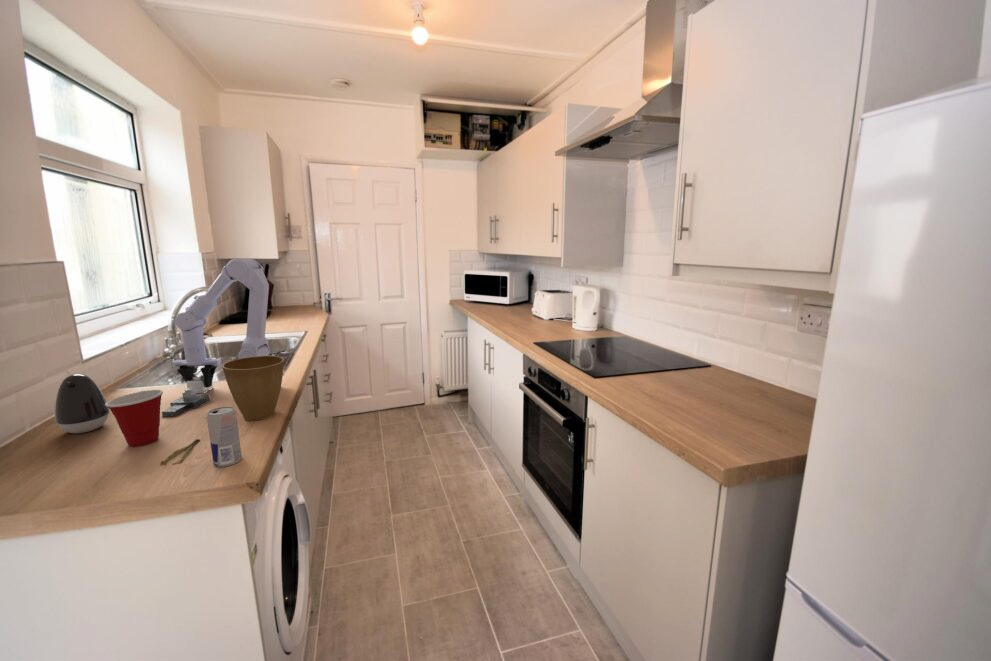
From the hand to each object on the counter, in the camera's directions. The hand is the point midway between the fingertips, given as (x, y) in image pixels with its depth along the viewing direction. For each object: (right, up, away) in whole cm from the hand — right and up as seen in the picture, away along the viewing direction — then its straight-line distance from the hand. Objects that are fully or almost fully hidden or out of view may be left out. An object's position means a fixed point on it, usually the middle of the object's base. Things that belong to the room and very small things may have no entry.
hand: (200, 386), depth 139 cm
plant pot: (+32, -6, -21) cm, 39 cm away
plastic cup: (+12, -9, -37) cm, 40 cm away
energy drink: (+40, -10, -47) cm, 63 cm away
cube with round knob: (0, -2, 0) cm, 2 cm away
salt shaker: (-16, +1, +17) cm, 23 cm away
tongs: (+27, -10, -43) cm, 51 cm away
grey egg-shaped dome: (-9, -7, -30) cm, 32 cm away
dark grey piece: (+6, -4, -15) cm, 17 cm away
